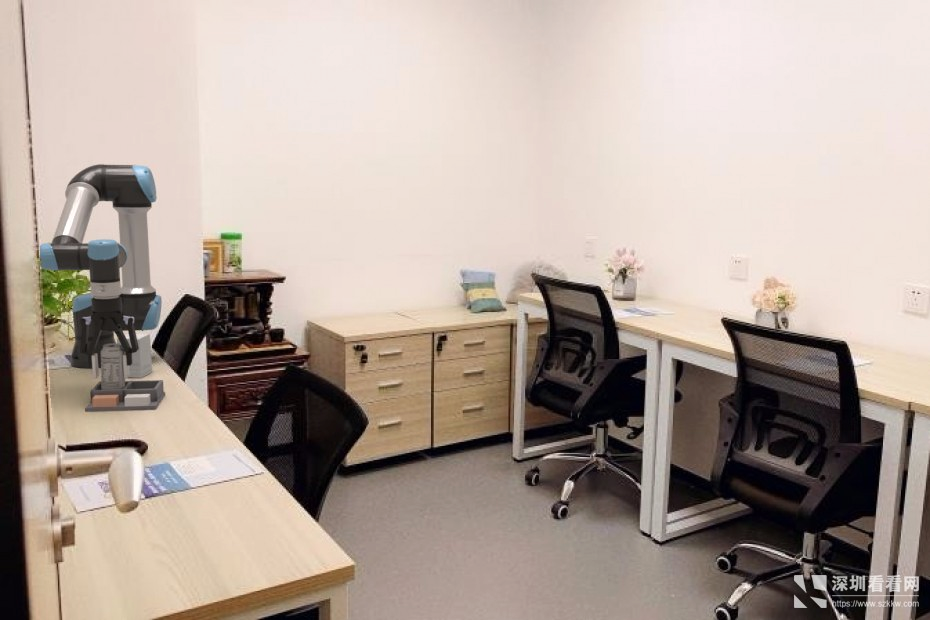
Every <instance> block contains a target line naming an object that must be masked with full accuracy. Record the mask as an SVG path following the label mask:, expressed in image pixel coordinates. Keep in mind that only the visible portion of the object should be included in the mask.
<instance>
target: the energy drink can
mask: <svg viewBox="0 0 930 620" xmlns="http://www.w3.org/2000/svg"><path fill="white" fill-rule="evenodd" d="M124 354H125V351H124V349H123V347H122V345H121V344H118V343H117V342H116V343H110V344H105V345H103V348H102V350H101V367H100V374H101V375H100V376H101V377H100V379H101V380H100V382H101V389H102V390H116V389H123V388H124V387H125V381H126V378H124V366H123V355H124Z"/></svg>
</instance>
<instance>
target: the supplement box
mask: <svg viewBox="0 0 930 620" xmlns="http://www.w3.org/2000/svg"><path fill="white" fill-rule="evenodd" d="M124 335H125V337H126V339H127V341H128V343H129V345H130V347H131V342H130V338H129V333H126V334H124ZM136 337H137V342H138V346H139V349H138V351H137V352H134V353H132V365H131V366H129V376H128V377H127V378H134V379H135V378H137V379H142V378H144V377H146V376H148V375H149V374H152V373H153V364H152V362H153V361H152V360H153V359H152V349H151V348H152V347H151V334H150V333H136ZM116 343H118V344H121V343H120V341H119V339H118V337H117V338H116ZM131 348H132V347H131Z"/></svg>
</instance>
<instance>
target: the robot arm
mask: <svg viewBox="0 0 930 620" xmlns="http://www.w3.org/2000/svg"><path fill="white" fill-rule="evenodd" d="M64 195H65V198H66V200H65V203H64V206H63V209H62V211H61V214H60V217H59V220H58V223H57V226H56V229H55V232H54V235H53V238H52V241H51V242H47V243H41V244H40V245H39V246H40V258H41V266H40V268H41V269H43V270H44V271H46V270H47V271H57V272H58V271H89V284H90V285H89V287H90V292H87V293H84V294H79V295H78V296H75V297H74V298H73V301H72V316H73V317H72V318H73V319H72V320H73V328H74V329H73V330H74V345H73V347H72V350H71V354H70V365H71V366H73V367H75V368H80V369H81V368H83V369H92V379H95V380H96V379H98V377H99V375H100V373H99V368H101V350H102V348H103V345H105V344H110V343H117V340H115V335H116V337H117V338H118V339H119V341H120V343H121V345H122V347H123V349H124V351H125V354H124V355H123V366H124V378H125V379H127V378H129V377H128V376H129V366H131V365H132V353H134V352H137V351H138V349H139V346H138V342H137V337H136V334H137V333H136V331H139V332H140V331H141V332H144V331H154V330H155V329H157V327H158V326H159V324H160V319H161V313H162V296H161V295H160V294H157V291H156V288H155V287H154V286H153V285H152V283H151V266H150V248H149V227H148V226H149V224H148V212H149V211H150V210H151V209H152V208H153V206H152V204H153V203H155V202H157V198H158V197H157V188H156V182H155V178H154V175H153V173H152V170H151V169H150V168H149V167H148V166H145V165H138V164H104V163H101V164H98V163H97V164H94V165H91V166H88V167H86V168H84V169H82V170H80V171H79V172H78V173H76V174H75V175H74V176H73V177H72V178H71V179H70V181H69V183H67V185H66V189H65V193H64ZM99 202H112V208H113V210H115V211H116V212H117V215H118V230H119V231H118V232H119V242H118V241H117V240H115V239H110V238H109V239H94V240H93V239H92V240H90V241H89V242H87V243H83V242H84V238H85V235H86V232H87V229H88V226H89V223H90V219H91V216H92V212H93V209H94V207H96V206H97V205H98V204H99ZM120 269H121V271H120ZM120 272H121V273H120ZM121 283H122V284H121ZM124 332H128V333H129V338H130V342H131V347H132V348H131V347H130V345H129V343H128V341H127V339H126V337H125V335H126V334H125V333H124ZM128 333H127V334H128Z"/></svg>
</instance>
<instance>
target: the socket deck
mask: <svg viewBox="0 0 930 620" xmlns="http://www.w3.org/2000/svg"><path fill="white" fill-rule="evenodd" d="M89 393H90V394H89V396H90V402H89V403H88V404H87V405H86V406H85V407H84V411H85V412H108V411H109V412H110V411H111V412H112V411H114V412H115V411H116V412H117V411H142V410H143V411H145V410H147V411H149V410H157V408H158V407H159V406H160V404H159V403H162V401H161V400H163V399H164V398H165V397H166V391H164V380H162V379H161V380H159V379H157V380H155V379H154V380H153V379H152V380H148V379H147V380H125V387H124V388H123V389H116V390H102V389H101V381H98V382H97V383H96V385H94V386H93V388H92V389H90V391H89ZM163 397H164V398H163Z"/></svg>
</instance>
